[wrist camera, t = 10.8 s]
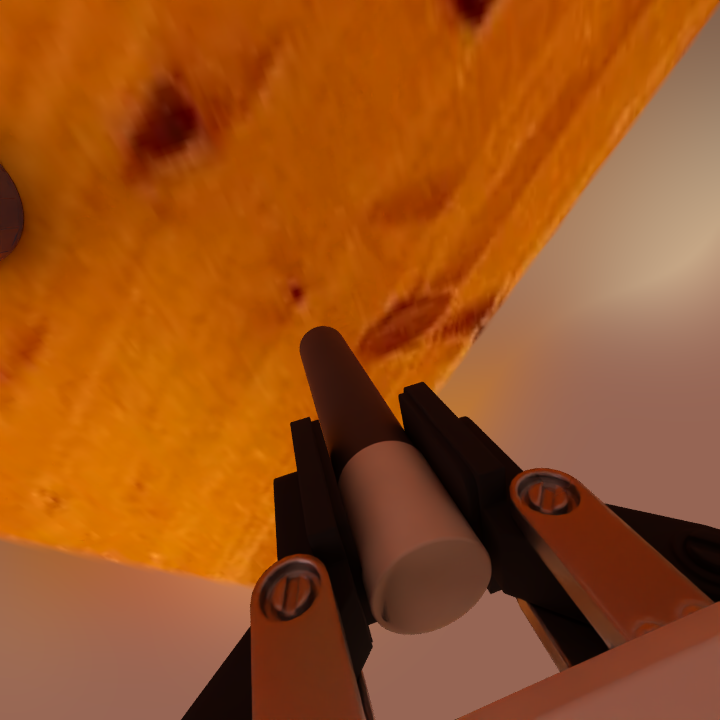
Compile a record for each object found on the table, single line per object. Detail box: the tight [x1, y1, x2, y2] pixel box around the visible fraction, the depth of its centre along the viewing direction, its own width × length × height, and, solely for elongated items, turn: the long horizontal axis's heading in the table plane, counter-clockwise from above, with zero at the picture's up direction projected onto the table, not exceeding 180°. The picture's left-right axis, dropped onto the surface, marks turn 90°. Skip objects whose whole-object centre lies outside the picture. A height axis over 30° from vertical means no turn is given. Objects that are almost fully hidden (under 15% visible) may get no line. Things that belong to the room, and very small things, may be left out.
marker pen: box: [300, 326, 492, 635], centre depth 13 cm, size 2×2×13 cm
